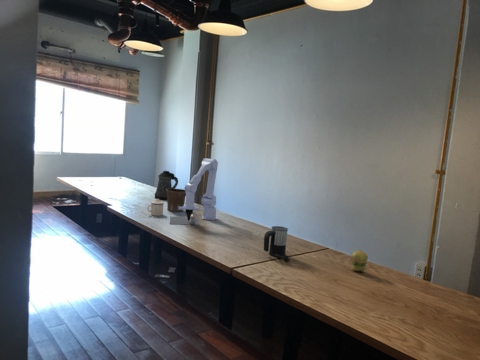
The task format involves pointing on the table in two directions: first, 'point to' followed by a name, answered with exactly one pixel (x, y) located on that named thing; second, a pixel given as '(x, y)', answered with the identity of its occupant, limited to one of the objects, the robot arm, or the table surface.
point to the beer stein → (165, 185)
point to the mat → (183, 221)
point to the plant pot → (175, 199)
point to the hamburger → (359, 260)
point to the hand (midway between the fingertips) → (188, 220)
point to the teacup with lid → (156, 208)
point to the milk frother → (276, 242)
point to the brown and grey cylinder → (192, 220)
